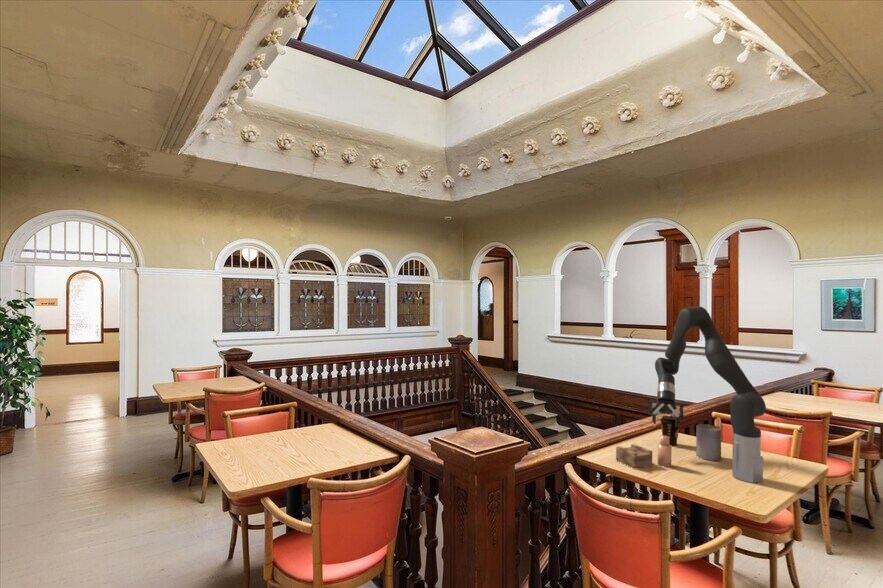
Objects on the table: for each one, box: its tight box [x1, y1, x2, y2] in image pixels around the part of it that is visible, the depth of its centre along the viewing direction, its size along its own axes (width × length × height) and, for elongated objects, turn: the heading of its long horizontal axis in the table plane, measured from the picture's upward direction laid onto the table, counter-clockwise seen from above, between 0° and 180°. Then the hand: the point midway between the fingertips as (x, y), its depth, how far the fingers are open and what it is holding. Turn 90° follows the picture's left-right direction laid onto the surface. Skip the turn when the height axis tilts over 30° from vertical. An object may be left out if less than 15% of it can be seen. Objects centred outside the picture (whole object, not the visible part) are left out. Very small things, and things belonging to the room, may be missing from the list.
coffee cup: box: [659, 415, 681, 447], centre depth 224 cm, size 9×8×13 cm
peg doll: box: [657, 434, 673, 468], centre depth 195 cm, size 5×5×12 cm
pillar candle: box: [695, 423, 722, 462], centre depth 205 cm, size 10×10×15 cm
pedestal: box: [615, 443, 653, 469], centre depth 196 cm, size 10×10×6 cm
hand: (665, 424), depth 204 cm, fingers open, 8 cm apart
